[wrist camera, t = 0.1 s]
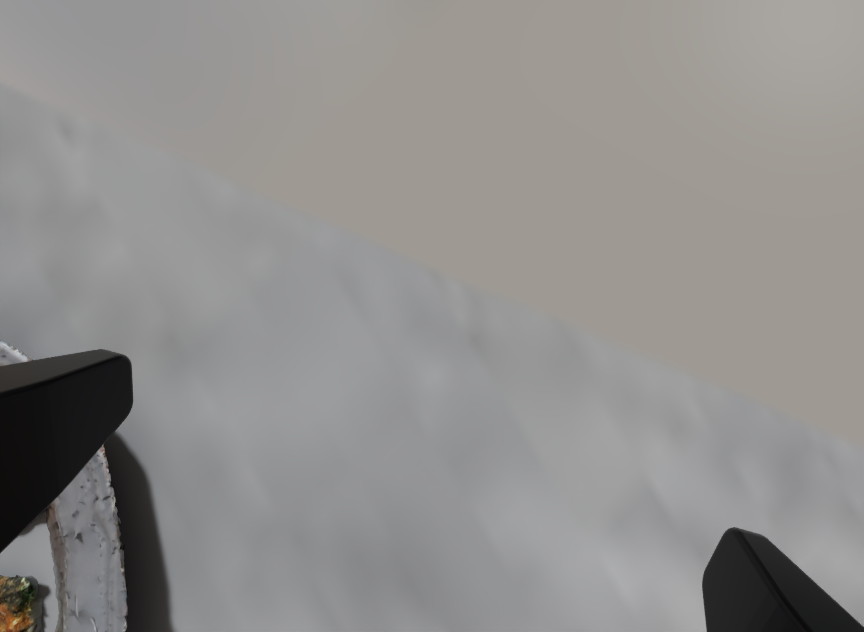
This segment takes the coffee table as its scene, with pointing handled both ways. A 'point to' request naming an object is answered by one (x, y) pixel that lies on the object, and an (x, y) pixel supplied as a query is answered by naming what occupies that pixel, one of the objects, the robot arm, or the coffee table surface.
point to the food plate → (74, 555)
